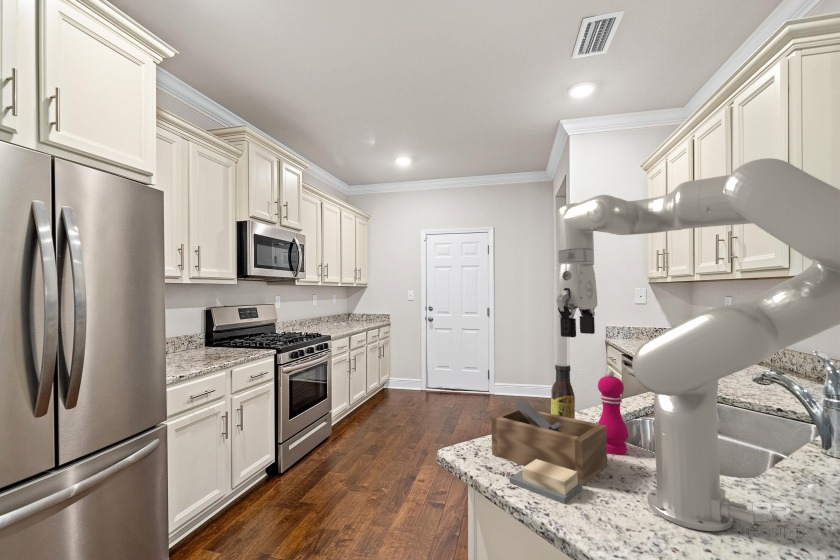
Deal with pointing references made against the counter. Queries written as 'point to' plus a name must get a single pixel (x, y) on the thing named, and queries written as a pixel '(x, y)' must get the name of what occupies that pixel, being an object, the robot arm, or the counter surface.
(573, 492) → the slate board
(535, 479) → the maple block
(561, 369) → the sauce bottle
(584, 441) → the wooden box
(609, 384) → the pepper mill
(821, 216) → the robot arm
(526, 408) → the rocker
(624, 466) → the counter surface
